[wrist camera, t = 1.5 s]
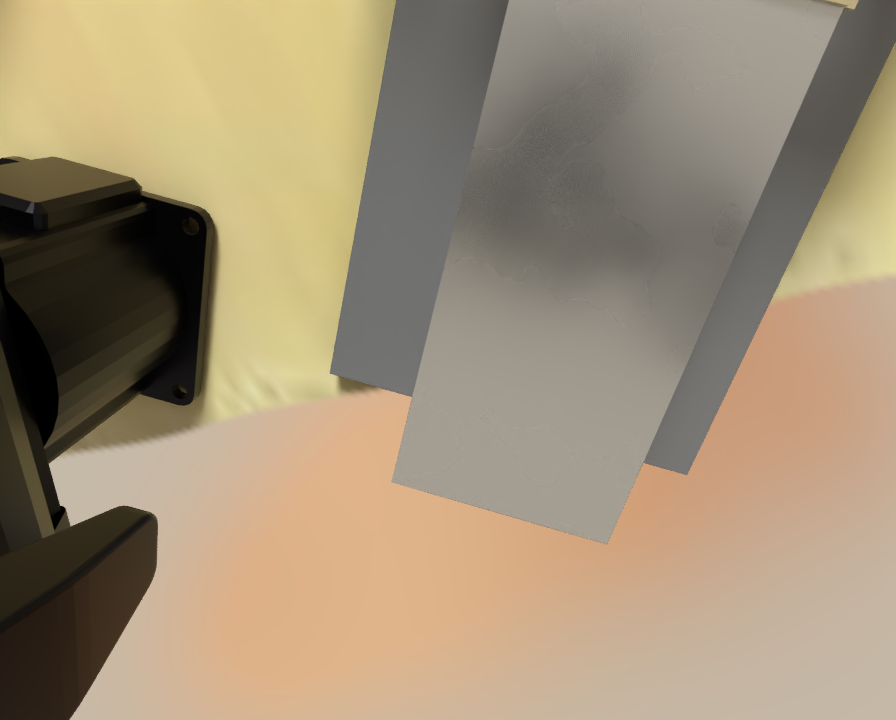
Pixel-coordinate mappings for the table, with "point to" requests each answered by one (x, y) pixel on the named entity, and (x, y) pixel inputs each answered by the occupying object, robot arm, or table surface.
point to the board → (444, 172)
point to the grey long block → (597, 241)
